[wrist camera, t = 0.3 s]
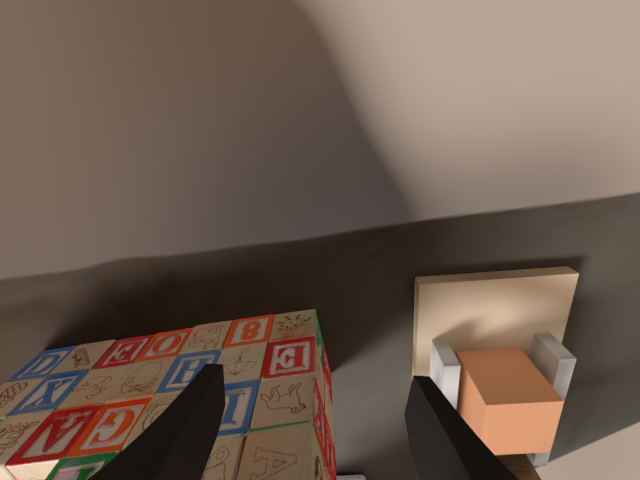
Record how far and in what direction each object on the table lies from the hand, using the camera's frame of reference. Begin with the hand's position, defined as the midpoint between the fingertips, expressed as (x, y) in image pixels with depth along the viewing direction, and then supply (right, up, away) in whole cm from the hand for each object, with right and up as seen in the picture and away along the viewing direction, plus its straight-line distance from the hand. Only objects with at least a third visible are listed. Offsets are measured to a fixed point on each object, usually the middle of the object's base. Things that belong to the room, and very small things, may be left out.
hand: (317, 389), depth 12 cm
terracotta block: (+12, -4, +11) cm, 17 cm away
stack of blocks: (-10, -3, +13) cm, 16 cm away
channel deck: (+12, -4, +12) cm, 17 cm away
